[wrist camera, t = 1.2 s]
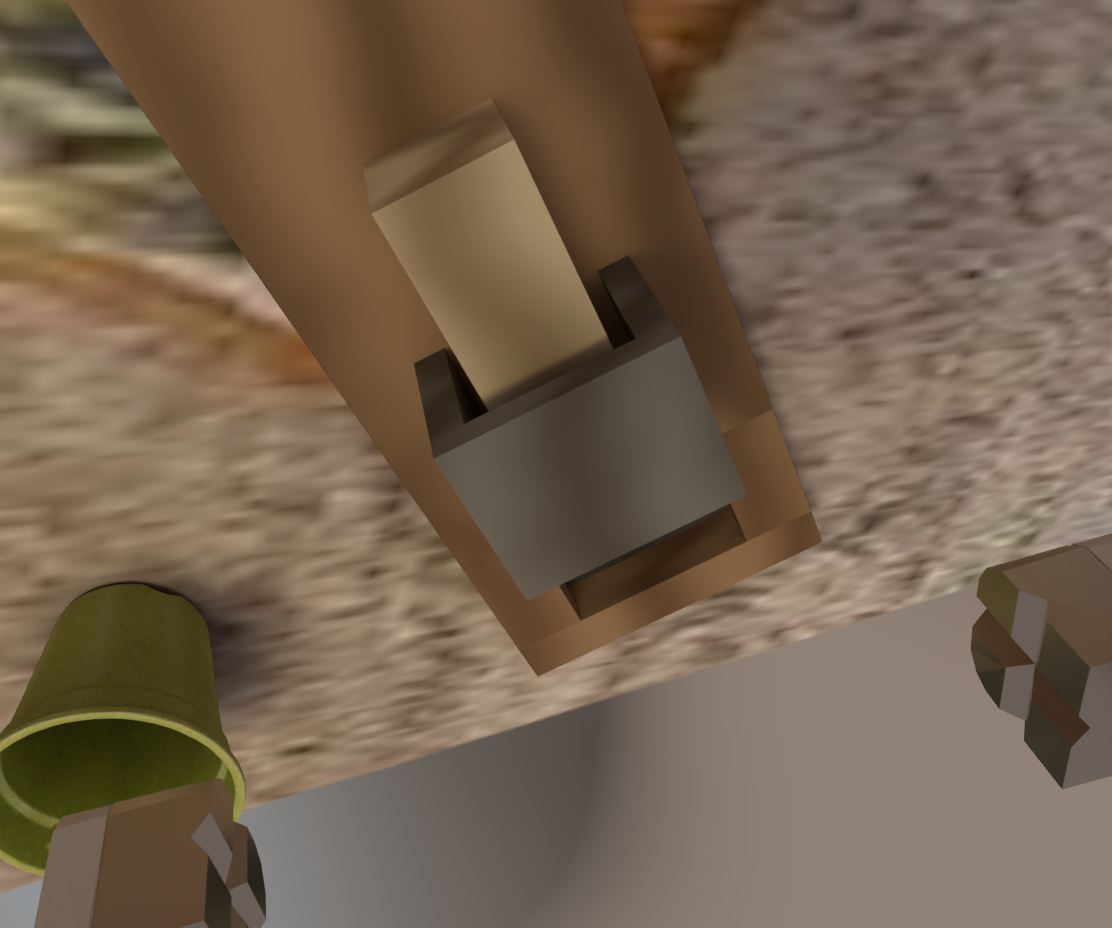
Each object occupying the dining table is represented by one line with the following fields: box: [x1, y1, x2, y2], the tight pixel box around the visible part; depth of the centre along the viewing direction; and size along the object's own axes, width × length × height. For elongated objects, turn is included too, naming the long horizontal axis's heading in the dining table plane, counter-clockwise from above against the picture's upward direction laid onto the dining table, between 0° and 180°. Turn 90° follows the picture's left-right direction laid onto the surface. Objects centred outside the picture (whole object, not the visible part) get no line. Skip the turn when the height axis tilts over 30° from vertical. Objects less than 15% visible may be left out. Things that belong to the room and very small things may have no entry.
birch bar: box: [363, 98, 614, 411], centre depth 35 cm, size 4×14×4 cm, turn 24°
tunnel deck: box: [66, 0, 822, 676], centre depth 36 cm, size 14×32×8 cm, turn 24°
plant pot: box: [0, 584, 246, 876], centre depth 41 cm, size 9×9×9 cm
